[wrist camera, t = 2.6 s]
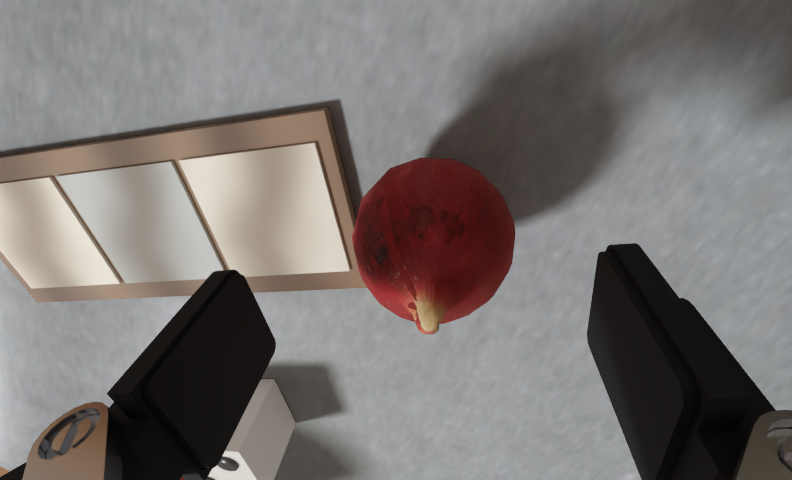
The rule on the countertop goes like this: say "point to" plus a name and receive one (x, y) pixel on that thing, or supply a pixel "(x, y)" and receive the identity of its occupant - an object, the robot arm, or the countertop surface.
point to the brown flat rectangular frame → (181, 211)
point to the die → (258, 438)
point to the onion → (433, 241)
